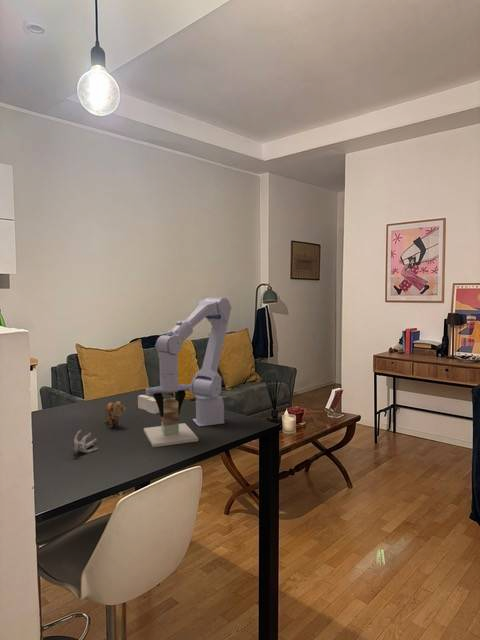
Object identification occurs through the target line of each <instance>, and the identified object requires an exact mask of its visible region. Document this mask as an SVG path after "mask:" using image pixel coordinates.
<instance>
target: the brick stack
mask: <svg viewBox="0 0 480 640" xmlns="http://www.w3.org/2000/svg"><path fill="white" fill-rule="evenodd" d="M179 415H180V414H178V401H177V400H176V399H175V397H171V398H164V399H163V417H161V416H160V419H161V422H164V423H169V422H177V423H178V422H179V420H180V419H179V418H180V417H179Z"/></svg>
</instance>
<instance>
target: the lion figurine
mask: <svg viewBox="0 0 480 640" xmlns="http://www.w3.org/2000/svg"><path fill="white" fill-rule="evenodd" d="M126 410H127V407H125V406H124V405H123V404H122V401H115V402H108V403H107V404H106V407H105V421H104V423H109V426H108V427H109V428H113V427H114V424H113V420H115V425H116V426H117V427H119V426H121V424H120V423H119V421H120V416H122V414H125V412H126Z"/></svg>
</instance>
